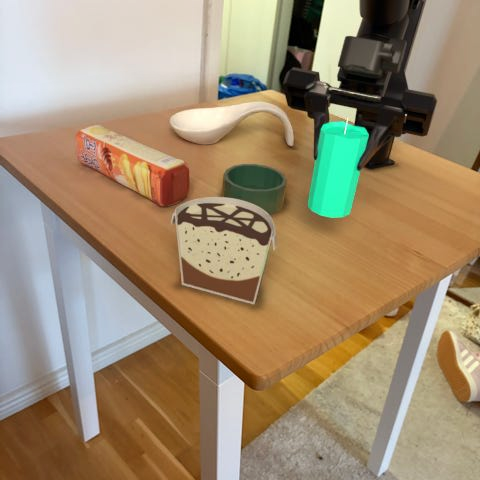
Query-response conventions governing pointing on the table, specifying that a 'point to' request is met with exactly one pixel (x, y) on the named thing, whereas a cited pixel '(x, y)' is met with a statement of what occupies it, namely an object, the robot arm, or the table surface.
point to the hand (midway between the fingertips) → (336, 164)
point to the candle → (336, 168)
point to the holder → (255, 186)
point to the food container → (223, 246)
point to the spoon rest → (223, 121)
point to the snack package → (134, 164)
